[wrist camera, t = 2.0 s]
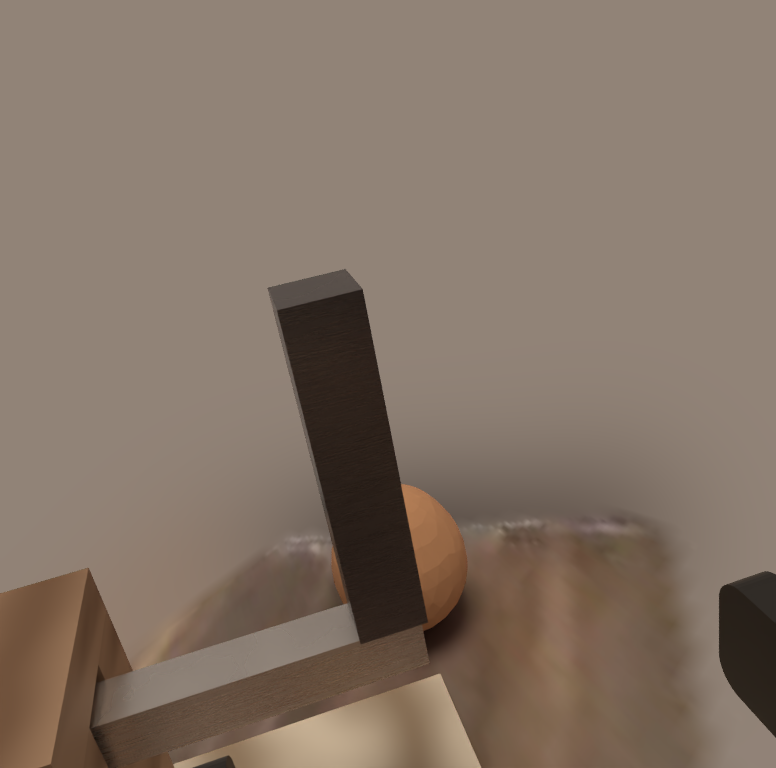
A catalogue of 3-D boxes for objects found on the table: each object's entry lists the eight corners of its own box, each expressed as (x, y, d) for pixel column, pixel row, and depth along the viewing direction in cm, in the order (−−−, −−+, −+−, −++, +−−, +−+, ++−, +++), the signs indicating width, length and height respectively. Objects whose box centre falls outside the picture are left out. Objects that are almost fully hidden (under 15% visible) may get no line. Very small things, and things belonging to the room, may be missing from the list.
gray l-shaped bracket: (-147, 862, 23) (-431, 484, 17) (-118, 795, 25) (-362, 440, 19) (436, 665, 26) (362, 288, 20) (417, 621, 28) (345, 269, 22)
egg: (336, 596, 45) (305, 477, 41) (451, 561, 46) (430, 442, 42) (362, 685, 38) (328, 553, 35) (495, 641, 39) (475, 509, 36)
